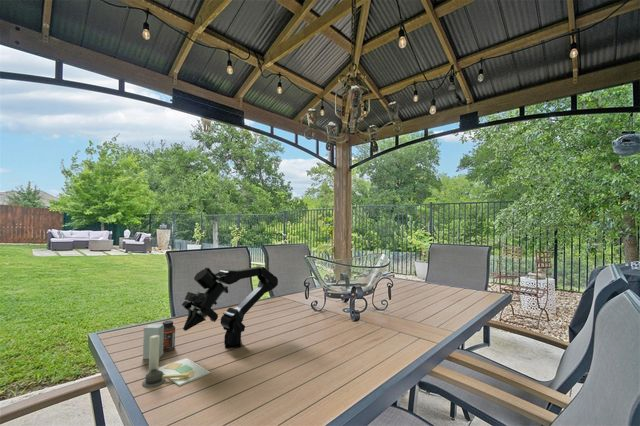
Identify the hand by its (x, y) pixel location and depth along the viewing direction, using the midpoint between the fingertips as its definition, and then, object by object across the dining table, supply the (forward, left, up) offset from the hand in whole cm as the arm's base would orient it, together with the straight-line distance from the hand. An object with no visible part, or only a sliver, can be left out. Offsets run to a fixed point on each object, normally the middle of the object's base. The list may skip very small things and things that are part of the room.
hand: (184, 330), depth 113 cm
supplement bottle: (+10, -14, -12) cm, 21 cm away
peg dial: (+4, +11, -12) cm, 16 cm away
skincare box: (+13, -7, -12) cm, 19 cm away
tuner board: (+1, +10, -12) cm, 16 cm away
